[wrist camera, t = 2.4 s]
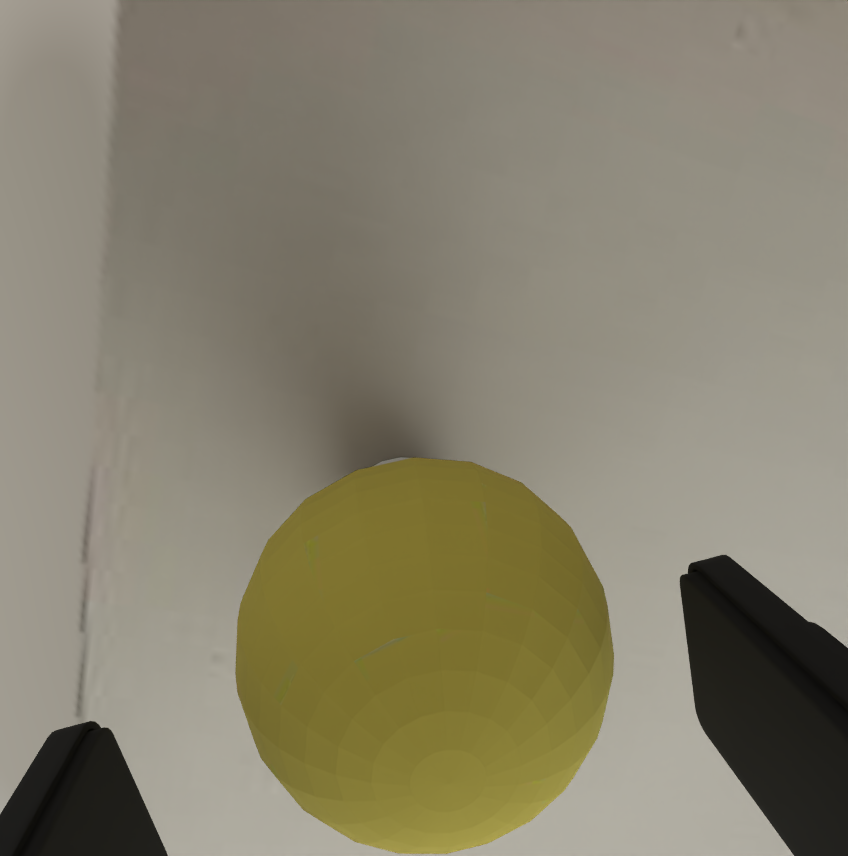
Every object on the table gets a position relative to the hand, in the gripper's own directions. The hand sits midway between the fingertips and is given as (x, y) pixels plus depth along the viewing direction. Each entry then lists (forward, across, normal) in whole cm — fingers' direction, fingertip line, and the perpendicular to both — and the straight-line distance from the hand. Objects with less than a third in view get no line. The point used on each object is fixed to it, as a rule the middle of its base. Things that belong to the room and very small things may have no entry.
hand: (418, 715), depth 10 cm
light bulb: (+9, 0, 0) cm, 9 cm away
